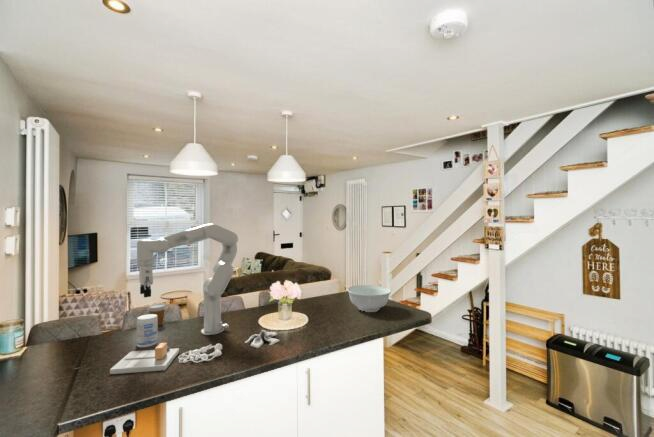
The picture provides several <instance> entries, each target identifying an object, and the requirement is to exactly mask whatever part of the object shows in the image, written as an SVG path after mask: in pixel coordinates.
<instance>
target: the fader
mask: <svg viewBox="0 0 654 437" xmlns="http://www.w3.org/2000/svg"><path fill="white" fill-rule="evenodd" d="M167 347H168V342H159V344H158V345H157V346H156V347H155V348H154V350H155V359H162V358H163V357H164V356H165V355H166V354H167Z"/></svg>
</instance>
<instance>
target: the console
mask: <svg viewBox="0 0 654 437" xmlns="http://www.w3.org/2000/svg"><path fill="white" fill-rule="evenodd" d="M178 354H180V348H178V347H176V348H171V347H170V346H167V354H166V355H165V356H164V357H163V358H162V359H155V349H149V350H145V349H144V350H133V351H129V352H128V353H127V355H125V356H123V358H122V359H120V360H119V361H118V362H117V363H115V364H114V365H113V366H112V367H111V368H110V369H109V375H119V374H131V373H133V374H134V373H143V372H147V373H148V372H156V371H166V370H167V369H168V367H169V366H170V365H171V363H172V362H173V361H174V359H176V358H177V356H178Z"/></svg>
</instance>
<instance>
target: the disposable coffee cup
mask: <svg viewBox="0 0 654 437" xmlns="http://www.w3.org/2000/svg"><path fill="white" fill-rule="evenodd" d="M147 310H148V312H149V313H148V314H156V315H157V318H158V327H160V326H162V325H164V317H165V316H164V315H165V310H166V305H165V304H164V303H159V304H158V303H157V304H156V303H155V304H153V305H150V306H149V307H148V309H147Z"/></svg>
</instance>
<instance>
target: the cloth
mask: <svg viewBox="0 0 654 437" xmlns="http://www.w3.org/2000/svg"><path fill="white" fill-rule="evenodd" d="M275 336H278V333H277V332H274V331H266V330H264V329H261V331H260V333H259V334H256V333H255V334H252V335H251V336H250V337H249V338H248V339H247V340H245V341H244V344H245V343H246V344H248V343H250V342H251V343H250V347H252V348H256V349H257V348H258V349H259V348H260V347H261V346H263V345H264V343H265V342H267V343H268V345H269V346H271V345H272V346H273V345H275V344H277V343H278V342H280V339H277V338H273V337H275Z"/></svg>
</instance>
